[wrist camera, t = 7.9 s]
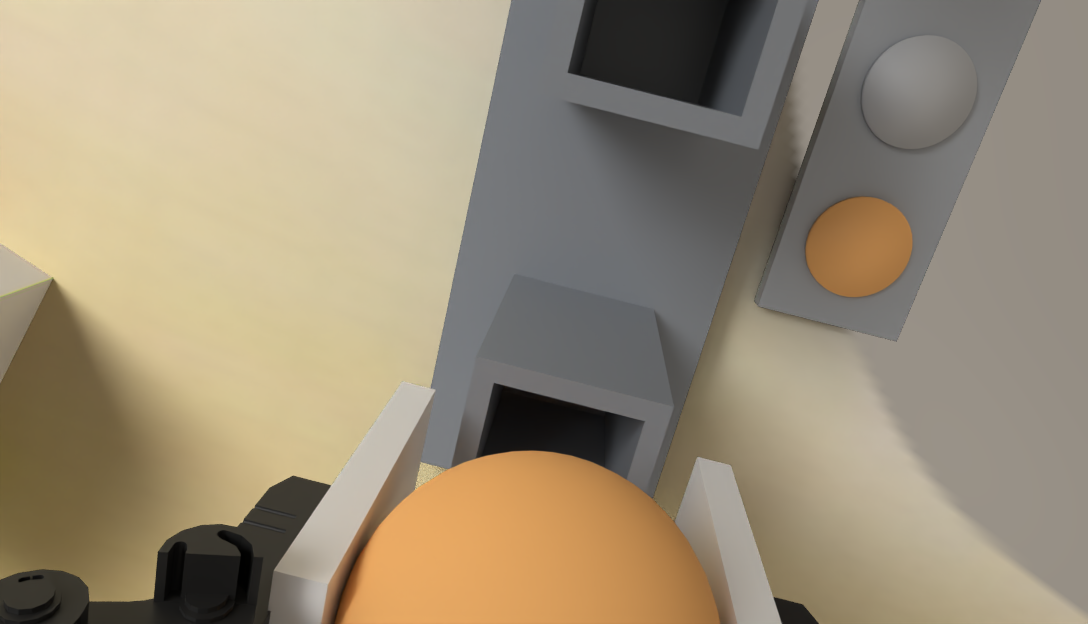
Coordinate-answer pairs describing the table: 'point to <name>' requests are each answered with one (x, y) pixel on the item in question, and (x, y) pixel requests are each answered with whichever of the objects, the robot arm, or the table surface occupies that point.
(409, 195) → the table surface
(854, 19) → the card
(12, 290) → the puzzle toy
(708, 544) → the robot arm
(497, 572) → the orange ball
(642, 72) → the ball display stand
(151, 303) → the table surface
